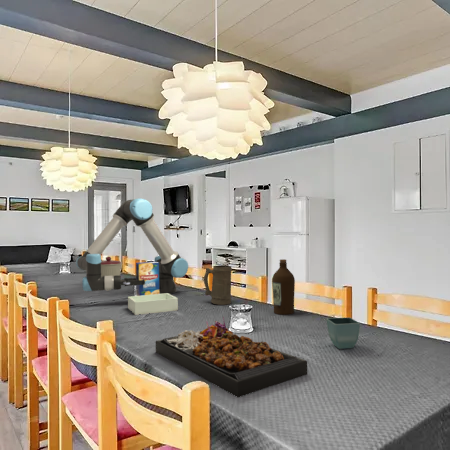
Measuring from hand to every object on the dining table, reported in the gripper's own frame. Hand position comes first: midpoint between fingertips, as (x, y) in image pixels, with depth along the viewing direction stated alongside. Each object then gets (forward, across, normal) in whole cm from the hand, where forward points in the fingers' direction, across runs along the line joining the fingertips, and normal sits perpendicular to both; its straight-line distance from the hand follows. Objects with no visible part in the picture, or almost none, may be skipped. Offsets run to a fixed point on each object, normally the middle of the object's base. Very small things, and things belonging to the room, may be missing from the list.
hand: (157, 280), depth 223 cm
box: (-4, +18, -12) cm, 22 cm away
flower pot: (+53, +101, -12) cm, 115 cm away
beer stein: (+30, +14, -12) cm, 36 cm away
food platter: (+11, +104, -13) cm, 105 cm away
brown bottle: (+54, +46, -12) cm, 73 cm away
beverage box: (-5, 0, -12) cm, 13 cm away
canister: (-27, -66, -12) cm, 73 cm away
